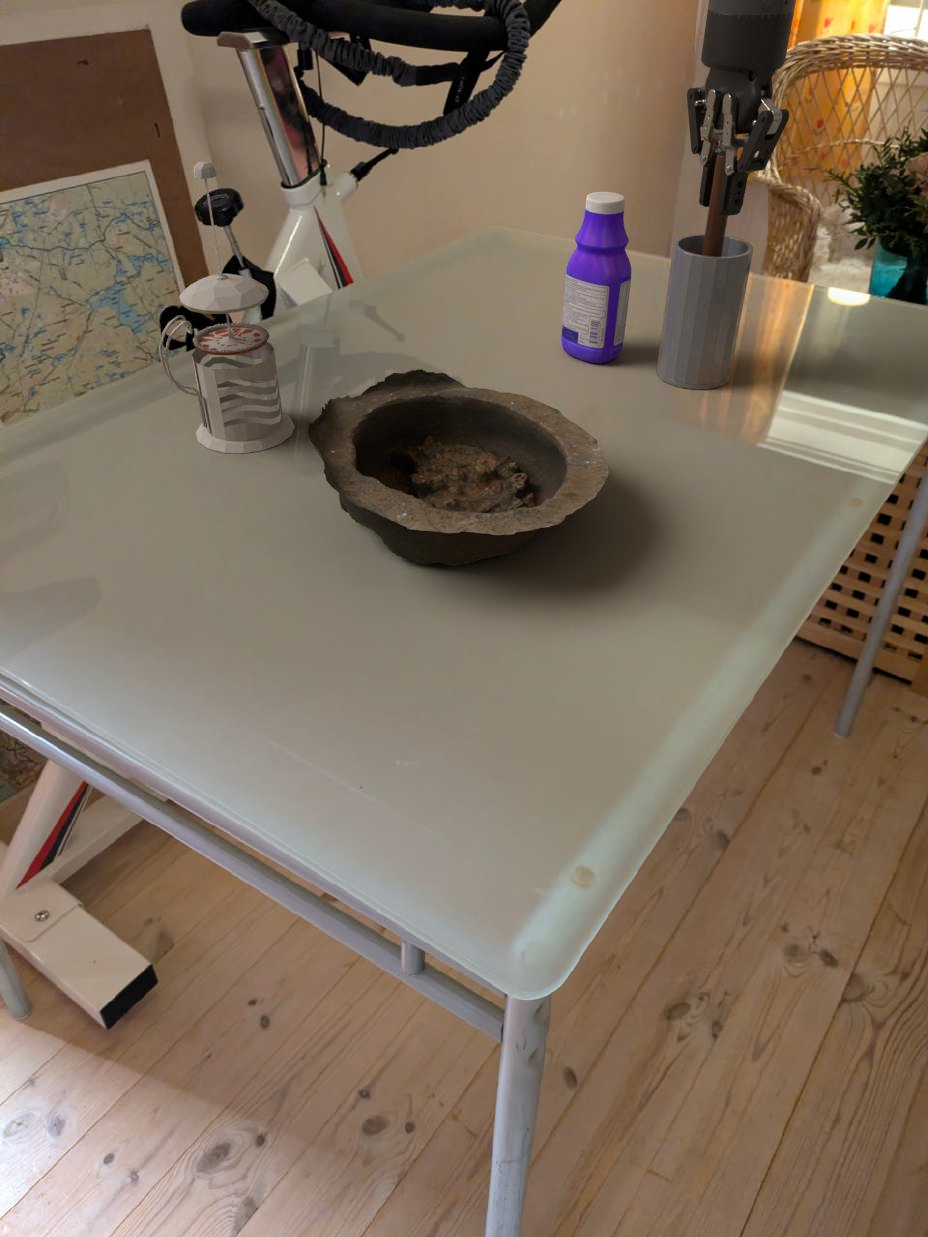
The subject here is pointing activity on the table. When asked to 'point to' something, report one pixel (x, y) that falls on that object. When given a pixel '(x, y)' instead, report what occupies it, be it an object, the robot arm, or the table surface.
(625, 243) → the bottle
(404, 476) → the stone bowl
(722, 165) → the brush
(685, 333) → the cylindrical container
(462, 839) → the table surface
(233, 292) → the french press
